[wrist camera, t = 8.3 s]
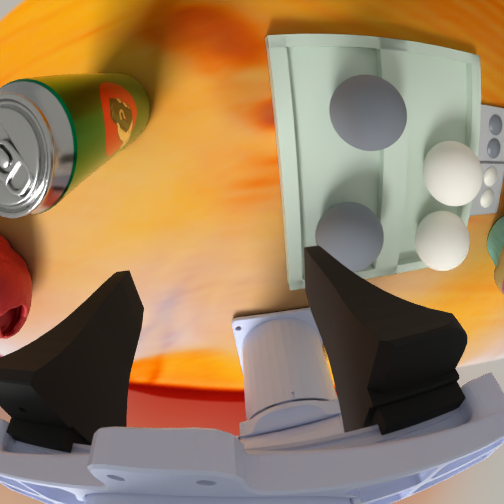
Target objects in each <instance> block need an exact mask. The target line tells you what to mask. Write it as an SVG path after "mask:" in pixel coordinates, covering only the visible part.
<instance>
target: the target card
mask: <svg viewBox="0 0 504 504" xmlns="http://www.w3.org/2000/svg"><path fill="white" fill-rule="evenodd" d="M478 159H479V162H480V164H481V167H482V174H483V179H482V185H481V188H480V190H479V192H478V194H477V195H476V197H475V198H474V199H473V200H472V203H471V209H470V215H469V216H473V215H482V214H490V213H497V210H498V205H499V200H500V194H501V189H502V183H503V176H504V108H500V107H494V106H489V105H483V104H481V120H480V137H479V150H478Z"/></svg>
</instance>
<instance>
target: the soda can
mask: <svg viewBox="0 0 504 504" xmlns="http://www.w3.org/2000/svg"><path fill="white" fill-rule="evenodd" d="M149 114H150V103H149V98H148V95H147V93H146V91H145V89H144V87H143V86H142V85H141V84H140V83H139V82H138V81H137V80H136V79H134V78H133V77H131V76H129V75H126V74H122V73H88V74H68V75H54V76H43V77H34V78H26V79H18V80H15V81H12V82H9V83H7V84H6V85H4V86H2V87H1V88H0V216H1V217H4V218H19V217H23V216H26V215H36V214H40V213H43V212H45V211H47V210H49V209H51V208H52V207H53V206H55V205H56V204H57V203H58V202H60V201H61V200H62V199H63V198H64V197H65V196H66V195H67V194H68V193H70V192H71V191H72V190H73V189H74V188H75V187H77V186H78V185H79V184H80V183H81V182H82V181H84V180H85V179H86V178H87V177H88V176H90V175H91V174H92V173H93V172H95V171H96V170H97V169H98V168H99V167H101V166H102V165H103V164H105V163H106V162H107V161H108V160H110V159H111V158H112V157H114V156H115V155H116V154H117V153H119V152H120V151H121V150H123V149H124V148H126V147H127V146H128V145H130V144H131V143H132V142H134V141H135V140H136V139H137V138H138V137H139V136H140V135H141V134H142V132H143V131H144V129H145V127H146V125H147V122H148V119H149Z"/></svg>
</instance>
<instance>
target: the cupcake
mask: <svg viewBox="0 0 504 504" xmlns="http://www.w3.org/2000/svg"><path fill="white" fill-rule="evenodd" d="M487 250H488V252H489V254H490V256H491V258H492V260H493V262H494V264H495V267H496V268H495V271H494V279H495V282H496V285H497V287H498V288H499V289H500V291H501V292H502V293H503V294H504V216H503V217H501V218H500V219H499V220H498V221H497V222H496V223H495V224H494V225H493V227H492V229H491V231H490V233H489V236H488V240H487Z"/></svg>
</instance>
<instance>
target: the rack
mask: <svg viewBox="0 0 504 504" xmlns="http://www.w3.org/2000/svg"><path fill="white" fill-rule="evenodd" d="M265 42H266V50H267V58H268V67H269V76H270V84H271V93H272V103H273V112H274V122H275V132H276V142H277V153H278V164H279V175H280V187H281V199H282V212H283V225H284V239H285V253H286V268H287V282H288V285H289V289H290V291H291V290H298V289H305V264H304V247H310V246H316V239H315V233H316V228H317V225H318V222H319V220H320V218H321V217H322V215H323V214H324V213H325V212H326V211H327V210H328V209H329V208H331V207H332V206H334V205H337V204H339V203H343V202H355V203H360V204H362V205H364V206H366V207H368V208H369V209H371V210H372V211H373V212H374V213H375V214H376V216H377V217H378V218H379V220H380V222H381V225H382V228H383V233H384V242H383V247H382V250H381V252H380V254H379V256H378V257H377V259H376V260H375V261H374V262H373V263H372V264H371V265H370V266H368V267H366V268H365V269H362V270H360V271H356V272H354V273H355V274H357V275H358V276H360V277H361V278H363V279H367V278H373V277H379V276H385V275H390V274H396V273H401V272H407V271H412V270H418V269H423V268H428V266H427V265H426V264H424V263H423V262H422V260H421V259H420V257H419V255H418V253H417V251H416V247H415V234H416V230H417V227H418V225H419V224H420V222H421V221H422V220H423V219H424V218H425V217H426V216H427V215H428V214H430V213H432V212H435V211H449V212H452V213H454V214H456V215H457V216H458V217H460V218H461V219H462V220H463V222H464V223H465V225H466V227H467V225H468V220H469V215H470V209H471V203H472V201H470V202H469V203H467V204H465V205H462V206H448V205H445V204H443V203H441V202H439V201H438V200H436V199H435V198H434V197H433V196H432V195H431V194H430V192H429V191H428V189H427V187H426V185H425V182H424V179H423V163H424V160H425V157H426V155H427V153H428V152H429V151H430V150H431V149H432V148H433V147H434V146H435V145H437V144H439V143H441V142H444V141H456V142H459V143H462V144H464V145H466V146H467V147H469V148H470V149H471V150H472V151H473V152H474V153H475V155H476V156H477V158H478V150H479V137H480V120H481V69H480V56H478V55H475V54H471V53H467V52H463V51H459V50H455V49H450V48H446V47H441V46H436V45H431V44H425V43H420V42H414V41H407V40H400V39H392V38H383V37H374V36H361V35H345V34H282V35H267V36H266V38H265ZM357 75H374V76H377V77H380V78H382V79H384V80H386V81H388V82H389V83H391V84H392V85H393V86H394V87H395V88H396V89H397V90H398V92H399V93H400V94H401V96H402V98H403V100H404V102H405V105H406V110H407V122H406V126H405V129H404V132H403V134H402V135H401V137H400V138H399V139H398V140H397V141H396V142H395V143H394V144H393V145H391V146H389V147H388V148H385V149H382V150H378V151H365V150H361V149H357V148H355V147H353V146H351V145H349V144H348V143H346V142H345V141H344V140H343V139H342V138H341V137H340V136H339V135H338V134H337V132H336V131H335V129H334V127H333V125H332V122H331V119H330V113H329V106H330V100H331V97H332V95H333V93H334V91H335V90H336V88H337V87H338V86H339V85H340V84H341V83H342V82H343V81H345V80H346V79H348V78H350V77H353V76H357Z"/></svg>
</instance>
